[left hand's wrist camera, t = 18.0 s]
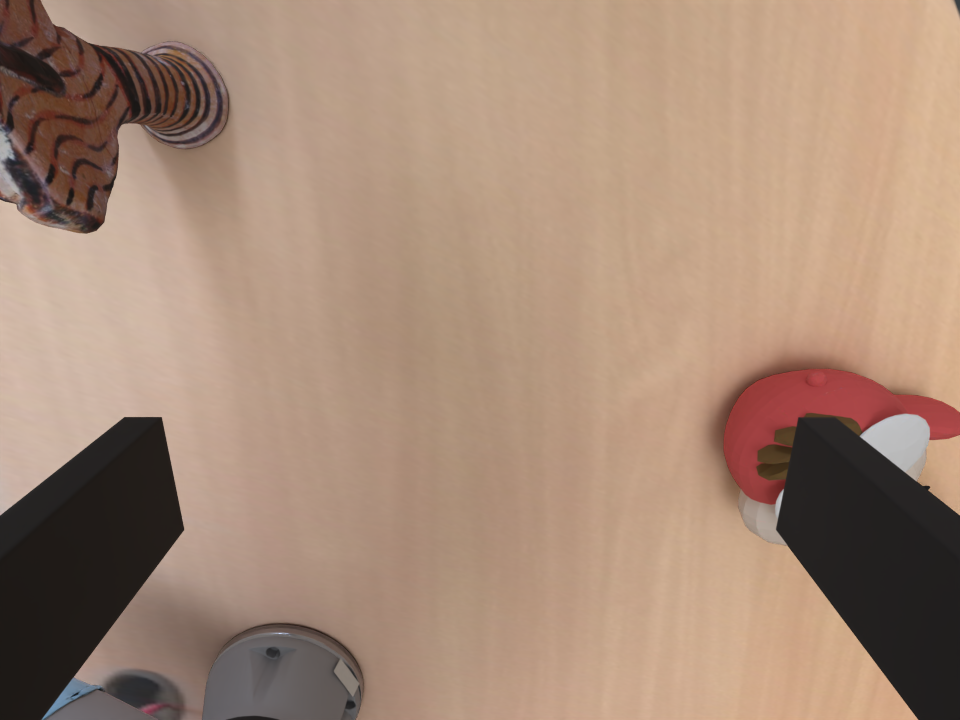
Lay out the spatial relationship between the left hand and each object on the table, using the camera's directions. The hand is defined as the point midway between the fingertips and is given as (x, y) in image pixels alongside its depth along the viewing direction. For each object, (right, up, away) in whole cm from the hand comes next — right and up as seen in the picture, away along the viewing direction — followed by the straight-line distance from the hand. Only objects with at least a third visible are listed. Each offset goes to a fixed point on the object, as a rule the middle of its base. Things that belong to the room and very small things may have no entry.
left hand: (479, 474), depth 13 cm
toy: (+32, -9, +41) cm, 53 cm away
